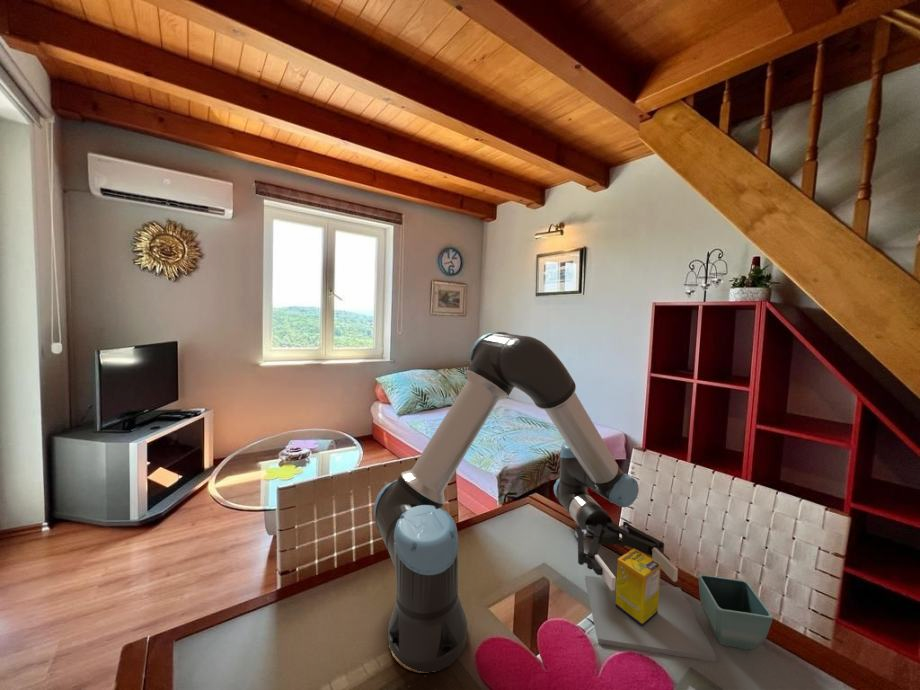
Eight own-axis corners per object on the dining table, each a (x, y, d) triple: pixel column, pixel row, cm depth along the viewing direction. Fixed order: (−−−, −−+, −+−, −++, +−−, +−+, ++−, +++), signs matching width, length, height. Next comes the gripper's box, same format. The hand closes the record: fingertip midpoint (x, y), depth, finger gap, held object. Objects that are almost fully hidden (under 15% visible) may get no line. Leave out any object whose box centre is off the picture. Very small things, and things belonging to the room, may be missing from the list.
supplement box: (630, 593, 79) (633, 547, 77) (658, 613, 74) (662, 564, 72) (614, 606, 75) (616, 558, 74) (642, 628, 70) (645, 576, 69)
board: (598, 643, 68) (598, 638, 68) (585, 579, 84) (585, 575, 84) (716, 662, 65) (716, 657, 65) (679, 591, 80) (679, 587, 80)
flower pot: (770, 663, 65) (775, 617, 64) (714, 653, 66) (718, 609, 65) (742, 620, 73) (746, 580, 72) (694, 613, 75) (697, 573, 74)
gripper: (634, 525, 95) (699, 588, 74) (543, 535, 91) (585, 605, 71) (635, 498, 94) (702, 555, 74) (544, 507, 90) (587, 569, 70)
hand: (645, 579), depth 72 cm, fingers open, 13 cm apart
